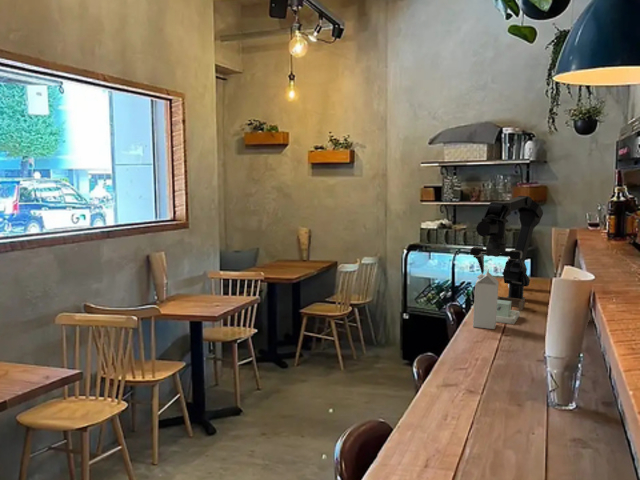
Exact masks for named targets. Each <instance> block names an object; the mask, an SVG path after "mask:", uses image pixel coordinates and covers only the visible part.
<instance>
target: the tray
mask: <svg viewBox="0 0 640 480" xmlns="http://www.w3.org/2000/svg"><path fill="white" fill-rule="evenodd" d="M520 313H521V311H519V310H512V309H511V315H510V316H509V317H501V316H496V323H501V324H506V325H507V324H508V325H515V323H516V322H517V321H518V320H519V318H520Z"/></svg>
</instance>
